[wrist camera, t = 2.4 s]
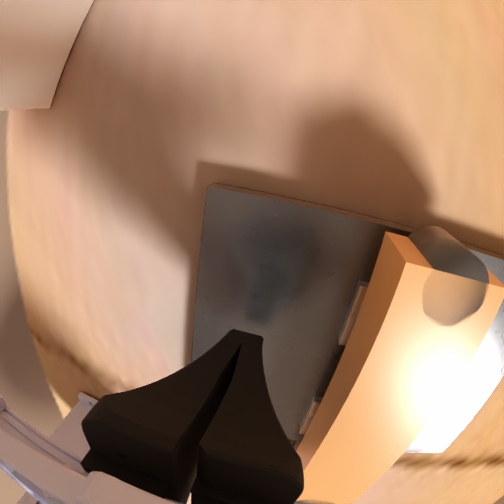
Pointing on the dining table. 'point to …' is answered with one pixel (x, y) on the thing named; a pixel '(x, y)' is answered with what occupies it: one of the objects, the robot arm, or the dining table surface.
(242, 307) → the server tray
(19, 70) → the milk carton
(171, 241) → the dining table surface
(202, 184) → the dining table surface
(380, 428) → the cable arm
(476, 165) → the dining table surface
